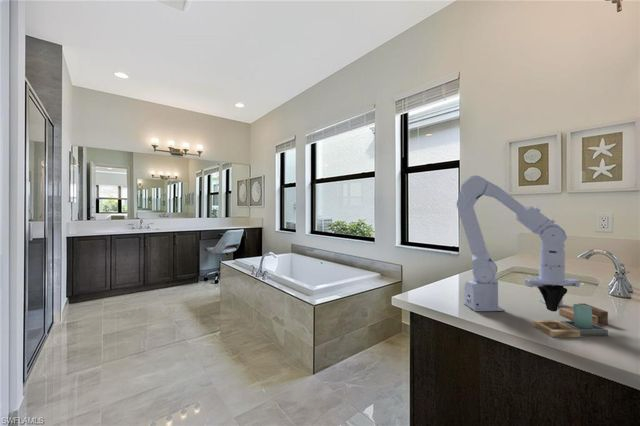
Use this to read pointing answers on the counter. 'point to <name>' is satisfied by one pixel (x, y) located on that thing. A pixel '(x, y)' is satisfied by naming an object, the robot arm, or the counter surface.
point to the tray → (589, 330)
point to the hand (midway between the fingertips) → (551, 310)
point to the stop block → (600, 315)
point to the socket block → (565, 332)
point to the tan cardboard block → (569, 314)
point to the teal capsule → (582, 316)
